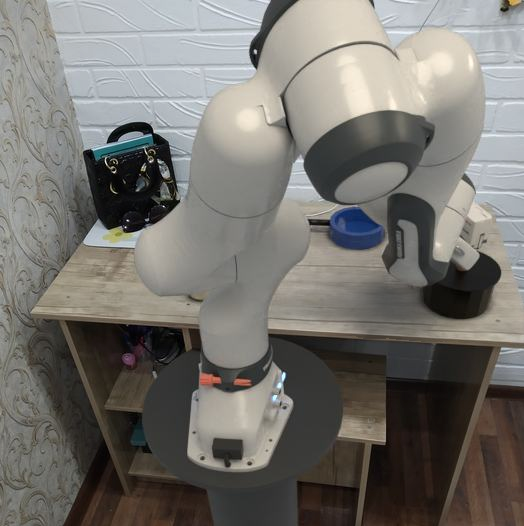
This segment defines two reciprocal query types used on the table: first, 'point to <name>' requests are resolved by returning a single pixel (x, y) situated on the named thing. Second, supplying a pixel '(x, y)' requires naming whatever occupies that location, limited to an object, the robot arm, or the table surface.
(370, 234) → the pan
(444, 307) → the pot
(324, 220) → the pan handle
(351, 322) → the table surface
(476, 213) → the ink box
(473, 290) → the lid
